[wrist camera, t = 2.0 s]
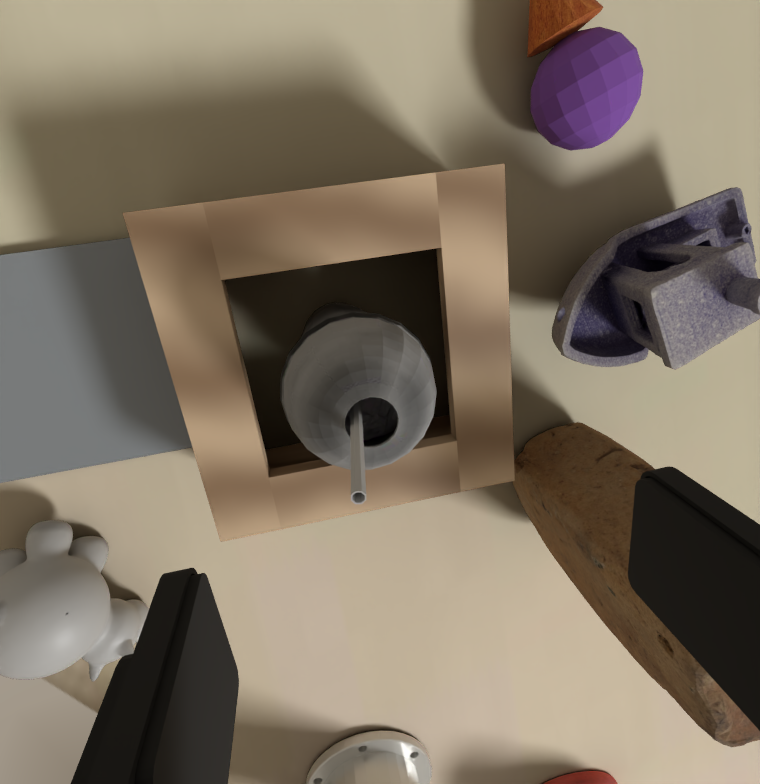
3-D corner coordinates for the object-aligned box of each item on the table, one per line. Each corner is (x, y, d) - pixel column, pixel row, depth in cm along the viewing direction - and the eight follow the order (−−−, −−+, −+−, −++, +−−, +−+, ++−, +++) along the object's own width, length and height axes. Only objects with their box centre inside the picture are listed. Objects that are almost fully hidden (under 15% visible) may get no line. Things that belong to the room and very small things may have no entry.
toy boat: (695, 169, 33) (904, 153, 21) (718, 272, 36) (913, 309, 24) (497, 275, 34) (586, 317, 22) (535, 365, 37) (631, 445, 25)
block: (495, 443, 38) (686, 656, 20) (580, 404, 38) (850, 578, 20) (531, 543, 42) (718, 797, 24) (608, 507, 42) (854, 732, 24)
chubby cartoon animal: (107, 607, 40) (97, 719, 34) (-35, 555, 32) (-82, 690, 26) (179, 565, 40) (183, 670, 34) (55, 501, 32) (29, 626, 25)
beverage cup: (404, 360, 34) (534, 523, 16) (311, 401, 34) (333, 614, 16) (366, 263, 32) (468, 324, 13) (265, 307, 32) (225, 432, 13)
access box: (470, 428, 37) (514, 480, 30) (235, 474, 35) (220, 541, 28) (453, 177, 31) (504, 163, 23) (166, 214, 29) (122, 212, 21)
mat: (197, 442, 34) (195, 446, 33) (-15, 482, 32) (-21, 486, 32) (136, 236, 29) (134, 237, 28) (-117, 271, 27) (-126, 272, 27)
